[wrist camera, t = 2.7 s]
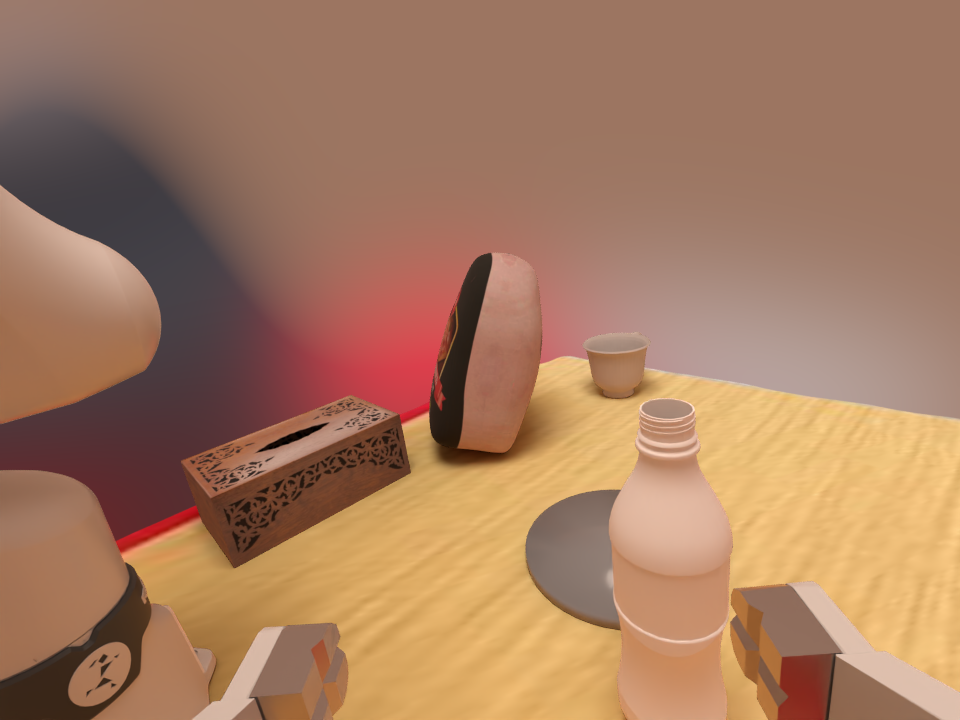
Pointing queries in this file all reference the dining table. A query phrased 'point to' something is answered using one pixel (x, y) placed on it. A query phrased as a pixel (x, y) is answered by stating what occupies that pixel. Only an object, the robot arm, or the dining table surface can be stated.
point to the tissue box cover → (295, 474)
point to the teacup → (617, 362)
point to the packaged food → (488, 356)
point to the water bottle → (670, 574)
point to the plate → (576, 557)
